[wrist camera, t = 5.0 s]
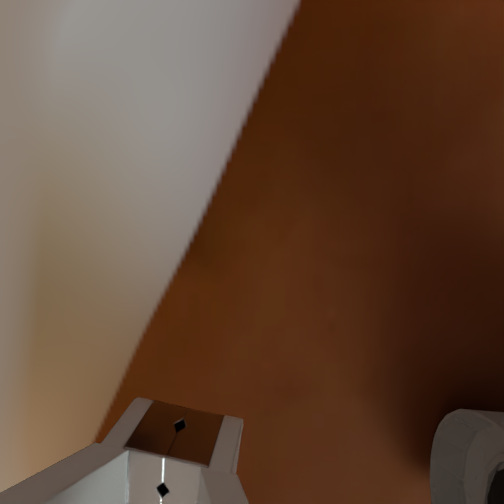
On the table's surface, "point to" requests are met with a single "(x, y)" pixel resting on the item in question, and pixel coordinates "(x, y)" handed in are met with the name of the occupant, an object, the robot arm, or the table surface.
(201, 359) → the table surface
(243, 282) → the table surface
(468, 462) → the digital camera
